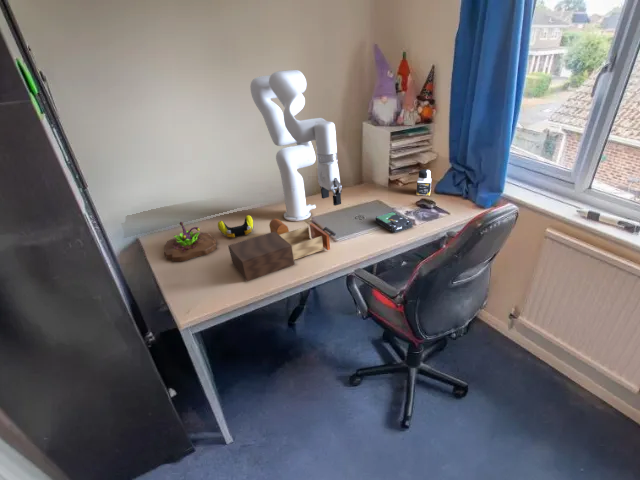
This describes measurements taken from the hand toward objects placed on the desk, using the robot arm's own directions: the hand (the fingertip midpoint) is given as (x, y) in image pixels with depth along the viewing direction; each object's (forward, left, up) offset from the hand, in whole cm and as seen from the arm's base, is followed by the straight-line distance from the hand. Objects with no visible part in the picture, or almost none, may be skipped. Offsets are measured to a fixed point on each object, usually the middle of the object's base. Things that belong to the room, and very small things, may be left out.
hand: (331, 201), depth 152 cm
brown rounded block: (+18, -15, -17) cm, 29 cm away
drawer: (+13, +2, -16) cm, 21 cm away
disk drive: (-28, +5, -17) cm, 33 cm away
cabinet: (+33, +2, -17) cm, 37 cm away
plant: (+52, -29, -17) cm, 62 cm away
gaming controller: (+31, -31, -17) cm, 47 cm away
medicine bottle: (-64, -15, -16) cm, 68 cm away
